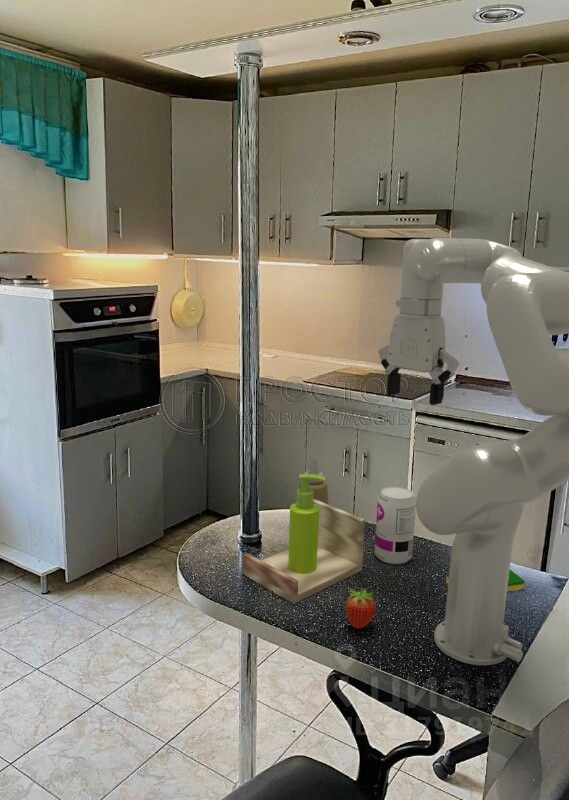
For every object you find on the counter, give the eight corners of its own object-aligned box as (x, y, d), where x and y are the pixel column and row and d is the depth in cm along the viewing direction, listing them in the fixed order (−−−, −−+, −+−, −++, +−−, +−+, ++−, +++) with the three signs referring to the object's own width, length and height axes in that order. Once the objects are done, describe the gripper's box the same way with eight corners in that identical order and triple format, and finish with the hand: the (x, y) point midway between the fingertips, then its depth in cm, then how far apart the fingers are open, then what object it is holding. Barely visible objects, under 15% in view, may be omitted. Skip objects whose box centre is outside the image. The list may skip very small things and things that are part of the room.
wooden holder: (361, 570, 139) (364, 519, 136) (293, 603, 125) (295, 548, 122) (310, 545, 149) (312, 498, 146) (242, 574, 136) (243, 522, 133)
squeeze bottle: (301, 540, 152) (303, 465, 148) (290, 525, 159) (292, 454, 155) (333, 535, 155) (337, 462, 150) (321, 522, 162) (324, 452, 158)
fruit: (358, 617, 121) (360, 577, 119) (379, 629, 117) (382, 589, 116) (337, 627, 118) (339, 586, 116) (359, 640, 114) (361, 598, 112)
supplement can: (373, 563, 142) (377, 498, 138) (375, 546, 150) (379, 484, 146) (411, 567, 140) (417, 501, 137) (411, 550, 148) (416, 487, 145)
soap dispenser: (321, 575, 133) (325, 481, 128) (286, 572, 134) (289, 479, 129) (322, 561, 139) (326, 471, 134) (289, 559, 139) (292, 469, 135)
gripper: (370, 305, 125) (365, 393, 129) (449, 313, 112) (441, 411, 116) (394, 303, 130) (389, 388, 134) (473, 311, 118) (464, 404, 122)
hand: (413, 399), depth 125 cm, fingers open, 9 cm apart
